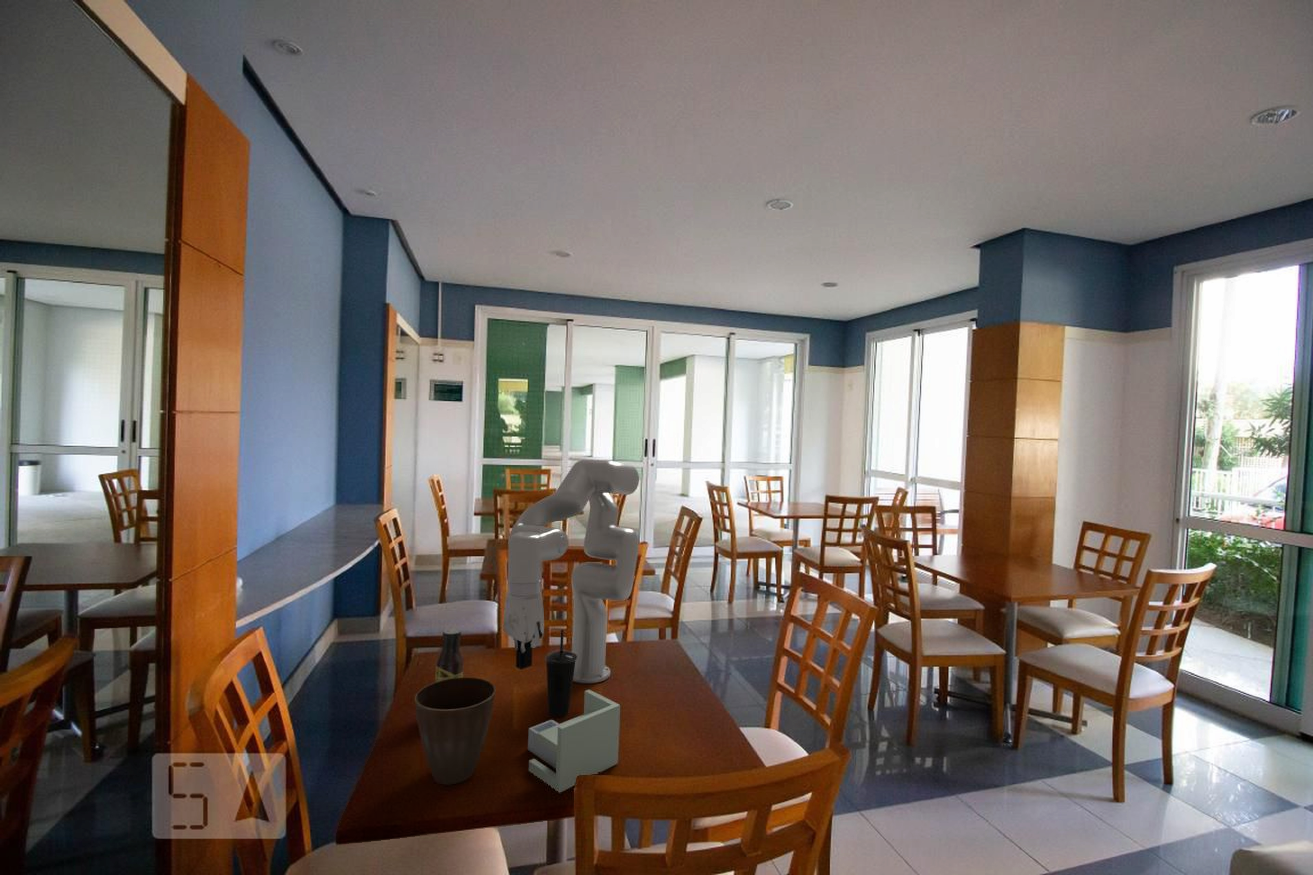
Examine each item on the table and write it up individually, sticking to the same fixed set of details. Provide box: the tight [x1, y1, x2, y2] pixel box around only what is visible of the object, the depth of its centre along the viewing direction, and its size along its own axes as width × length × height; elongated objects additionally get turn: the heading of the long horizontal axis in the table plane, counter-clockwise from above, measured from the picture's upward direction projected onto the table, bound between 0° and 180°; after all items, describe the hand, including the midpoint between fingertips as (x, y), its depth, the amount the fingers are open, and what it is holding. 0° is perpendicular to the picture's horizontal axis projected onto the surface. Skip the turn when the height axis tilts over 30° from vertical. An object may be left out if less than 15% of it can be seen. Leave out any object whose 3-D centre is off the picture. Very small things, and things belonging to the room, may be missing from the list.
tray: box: [527, 719, 560, 770], centre depth 122 cm, size 14×6×4 cm, turn 46°
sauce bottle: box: [434, 627, 464, 683], centre depth 139 cm, size 6×6×20 cm
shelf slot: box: [528, 689, 621, 794], centre depth 118 cm, size 10×15×12 cm, turn 136°
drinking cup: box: [544, 629, 577, 718], centre depth 142 cm, size 8×8×20 cm
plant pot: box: [414, 676, 496, 786], centre depth 114 cm, size 15×15×16 cm
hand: (523, 666), depth 133 cm, fingers closed
